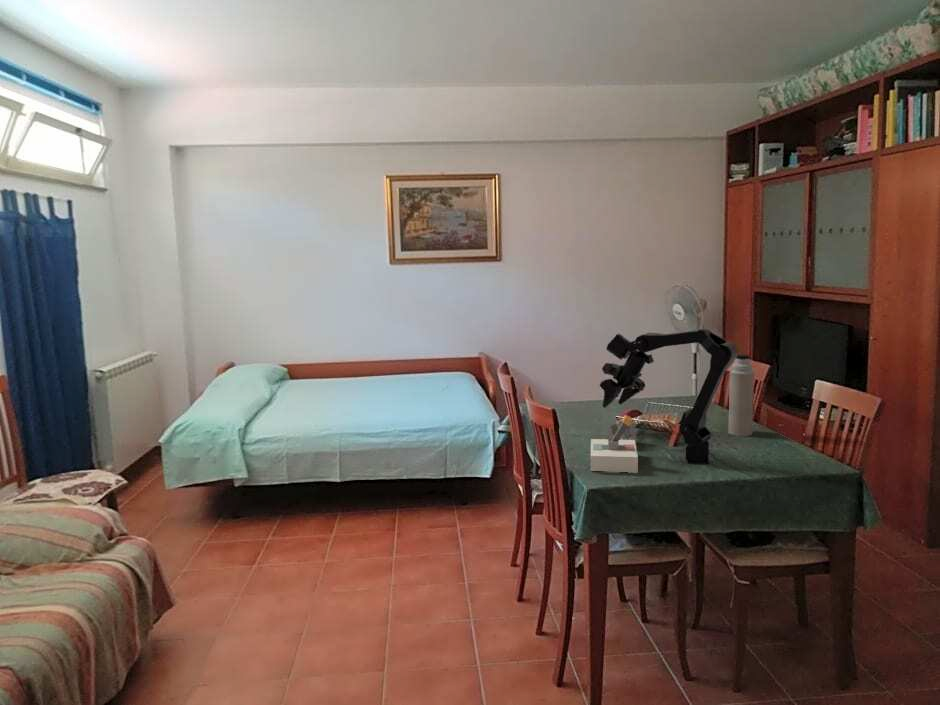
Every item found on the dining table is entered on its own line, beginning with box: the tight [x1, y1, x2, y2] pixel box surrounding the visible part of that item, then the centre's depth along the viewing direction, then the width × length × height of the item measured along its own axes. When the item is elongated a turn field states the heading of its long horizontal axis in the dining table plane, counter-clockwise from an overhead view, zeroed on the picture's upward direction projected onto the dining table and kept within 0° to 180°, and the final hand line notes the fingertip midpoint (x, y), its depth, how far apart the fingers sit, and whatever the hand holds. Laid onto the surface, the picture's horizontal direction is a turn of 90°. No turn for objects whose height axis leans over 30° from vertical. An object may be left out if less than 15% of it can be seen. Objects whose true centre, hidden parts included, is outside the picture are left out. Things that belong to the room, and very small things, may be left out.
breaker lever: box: [610, 414, 634, 442], centre depth 223 cm, size 2×3×10 cm
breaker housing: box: [590, 437, 639, 474], centre depth 225 cm, size 14×18×8 cm
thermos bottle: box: [727, 354, 755, 437], centre depth 251 cm, size 8×8×28 cm
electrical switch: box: [610, 415, 638, 444], centre depth 244 cm, size 9×5×9 cm, turn 141°
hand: (611, 405), depth 240 cm, fingers open, 9 cm apart
